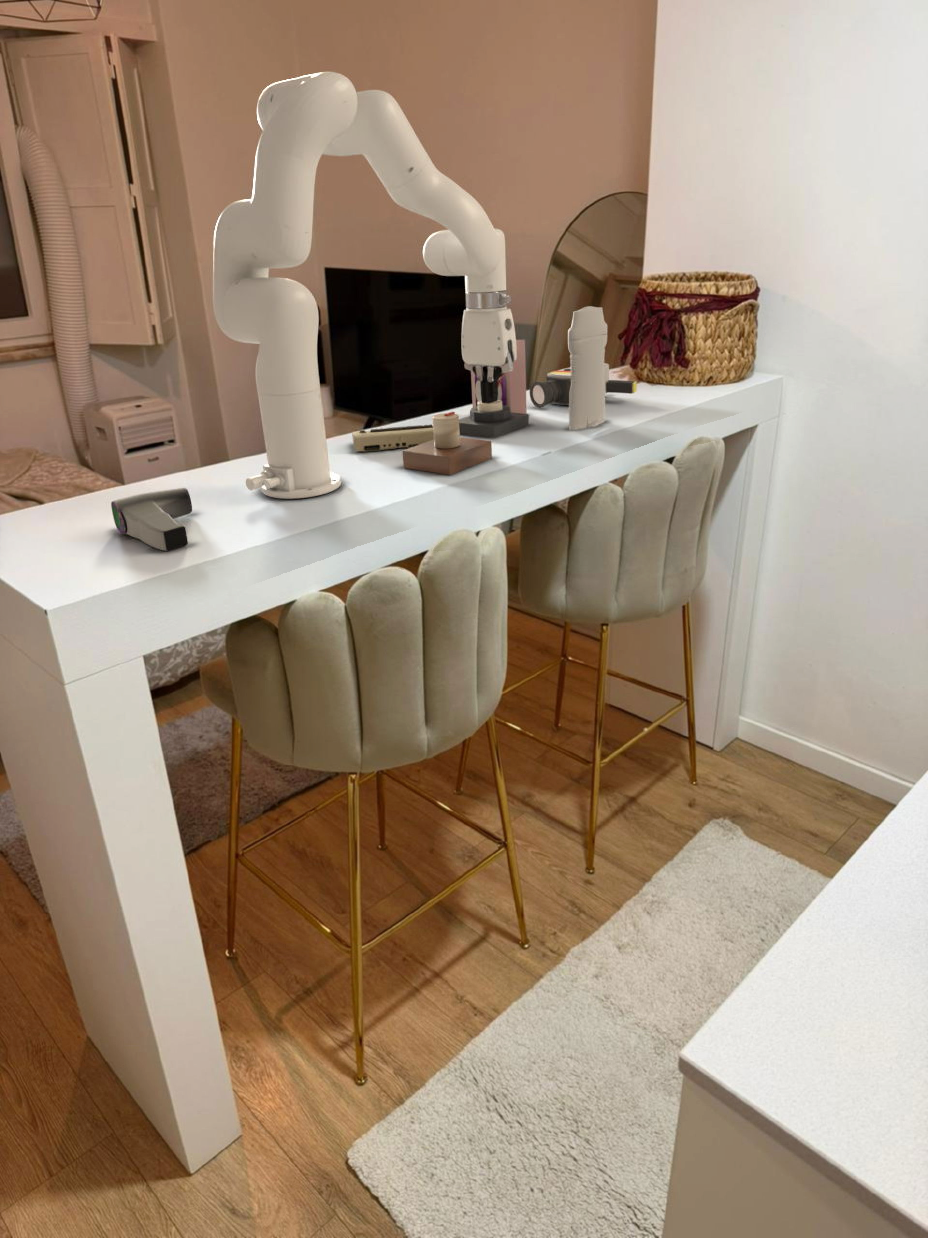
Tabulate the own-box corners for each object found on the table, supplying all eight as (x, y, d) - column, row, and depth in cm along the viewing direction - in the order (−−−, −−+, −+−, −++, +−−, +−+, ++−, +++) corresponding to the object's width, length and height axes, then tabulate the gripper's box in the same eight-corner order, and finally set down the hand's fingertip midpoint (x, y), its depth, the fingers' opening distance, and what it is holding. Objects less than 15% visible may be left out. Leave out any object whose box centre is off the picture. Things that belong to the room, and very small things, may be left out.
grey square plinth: (494, 438, 167) (493, 417, 165) (452, 433, 172) (450, 412, 170) (528, 425, 175) (528, 404, 173) (487, 420, 181) (486, 400, 179)
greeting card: (469, 415, 186) (466, 341, 180) (495, 409, 190) (492, 336, 184) (508, 422, 178) (506, 345, 172) (533, 415, 183) (532, 340, 176)
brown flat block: (450, 475, 145) (449, 457, 144) (403, 467, 151) (402, 450, 149) (492, 458, 153) (491, 440, 152) (446, 451, 159) (445, 435, 158)
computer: (434, 436, 170) (433, 418, 169) (440, 445, 163) (439, 427, 162) (353, 443, 169) (351, 426, 167) (355, 453, 161) (353, 435, 160)
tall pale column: (576, 431, 168) (577, 309, 159) (560, 429, 171) (560, 308, 162) (613, 421, 174) (615, 303, 165) (597, 419, 177) (598, 302, 168)
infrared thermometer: (159, 560, 117) (109, 530, 127) (239, 535, 125) (185, 509, 134) (154, 527, 115) (103, 499, 125) (235, 504, 123) (181, 480, 132)
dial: (449, 449, 148) (447, 417, 146) (429, 446, 150) (427, 415, 148) (465, 443, 151) (463, 412, 149) (445, 441, 154) (443, 410, 151)
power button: (493, 415, 169) (492, 405, 168) (472, 413, 172) (472, 403, 171) (507, 410, 173) (507, 400, 172) (487, 408, 175) (486, 398, 174)
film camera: (574, 420, 181) (528, 408, 192) (642, 400, 190) (594, 390, 201) (573, 386, 177) (526, 375, 189) (643, 368, 187) (594, 359, 198)
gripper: (531, 299, 162) (532, 401, 170) (465, 298, 171) (470, 395, 178) (508, 304, 157) (510, 408, 165) (442, 302, 165) (447, 402, 173)
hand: (489, 401), depth 171 cm, fingers closed
